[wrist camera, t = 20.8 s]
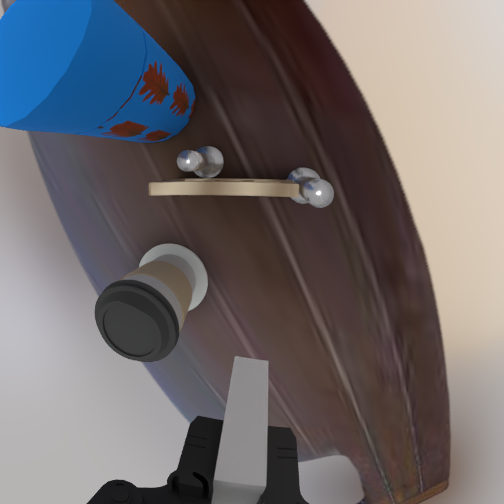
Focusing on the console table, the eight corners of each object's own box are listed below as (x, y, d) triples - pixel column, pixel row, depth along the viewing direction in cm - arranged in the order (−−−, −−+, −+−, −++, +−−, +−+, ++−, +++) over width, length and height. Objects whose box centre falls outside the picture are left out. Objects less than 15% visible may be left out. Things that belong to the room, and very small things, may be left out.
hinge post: (288, 164, 36) (298, 163, 24) (323, 171, 36) (349, 173, 24) (282, 199, 37) (289, 214, 25) (317, 205, 37) (339, 223, 25)
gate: (291, 180, 35) (299, 184, 27) (290, 190, 36) (298, 197, 27) (175, 178, 36) (148, 182, 27) (175, 188, 36) (149, 195, 28)
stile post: (194, 144, 36) (169, 137, 26) (226, 148, 36) (211, 141, 26) (190, 176, 37) (164, 179, 27) (221, 180, 37) (205, 184, 27)
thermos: (208, 73, 33) (126, -39, 9) (182, 152, 36) (54, 137, 12) (134, 62, 33) (11, -13, 9) (110, 135, 36) (-40, 123, 12)
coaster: (140, 237, 39) (139, 238, 39) (211, 249, 39) (211, 250, 39) (138, 304, 42) (137, 305, 42) (204, 317, 42) (203, 319, 42)
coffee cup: (191, 318, 42) (160, 386, 27) (134, 292, 41) (82, 347, 27) (213, 262, 39) (184, 316, 25) (151, 235, 39) (93, 273, 24)
